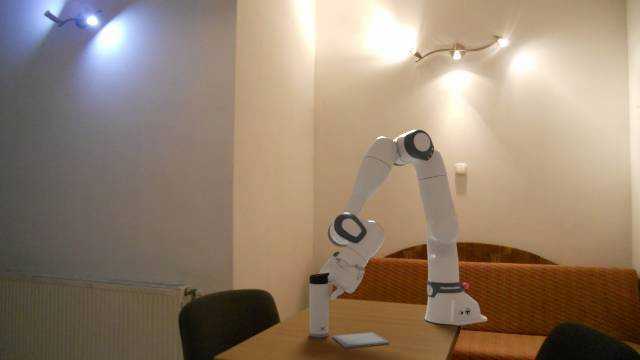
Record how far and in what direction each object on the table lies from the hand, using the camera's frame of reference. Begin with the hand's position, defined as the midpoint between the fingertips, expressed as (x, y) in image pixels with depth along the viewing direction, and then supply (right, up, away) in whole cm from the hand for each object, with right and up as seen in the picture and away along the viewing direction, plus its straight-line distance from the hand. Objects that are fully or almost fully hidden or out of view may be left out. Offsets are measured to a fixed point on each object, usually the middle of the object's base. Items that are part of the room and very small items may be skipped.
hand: (324, 294), depth 151 cm
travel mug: (-2, -13, -3) cm, 13 cm away
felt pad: (+11, -12, -9) cm, 19 cm away
